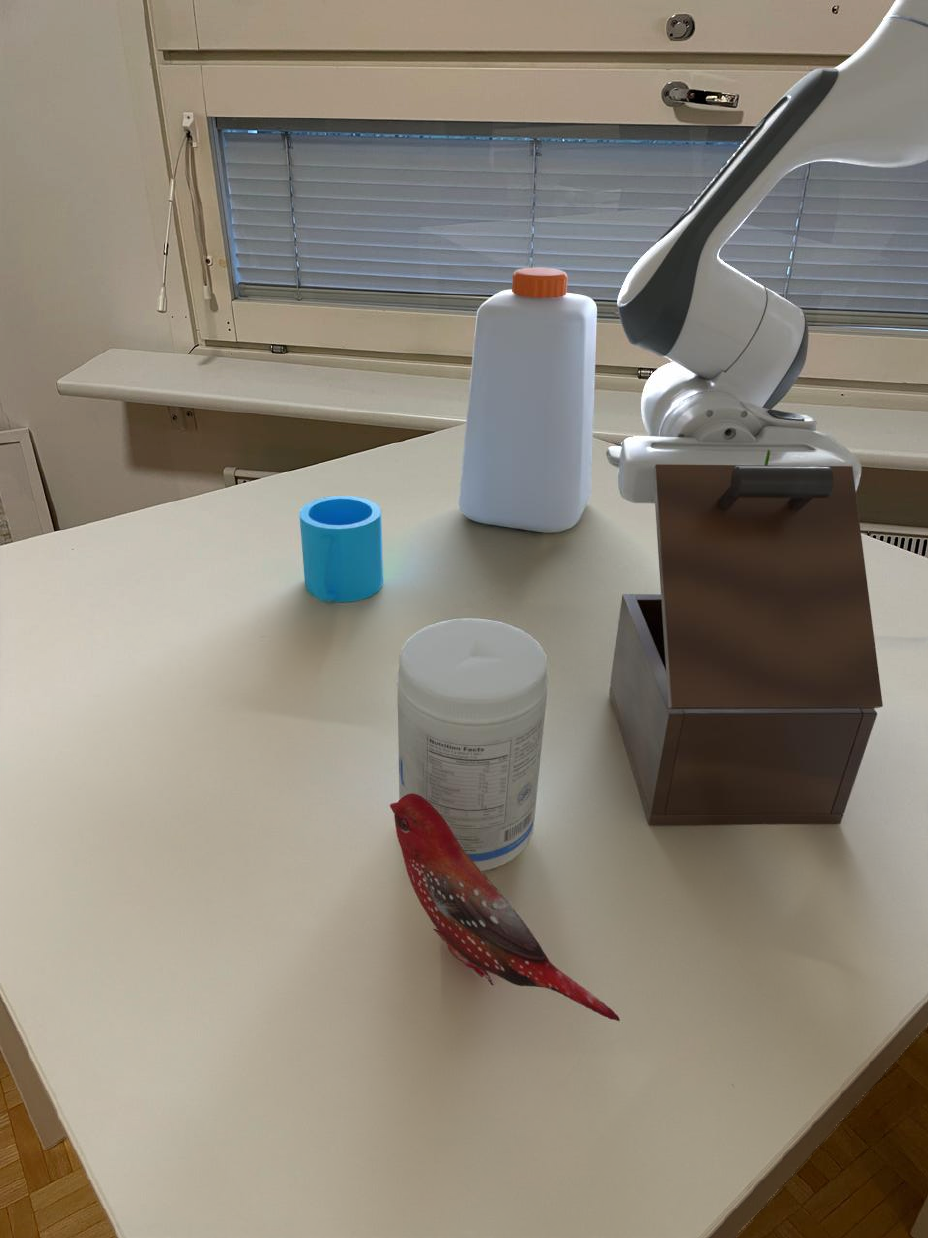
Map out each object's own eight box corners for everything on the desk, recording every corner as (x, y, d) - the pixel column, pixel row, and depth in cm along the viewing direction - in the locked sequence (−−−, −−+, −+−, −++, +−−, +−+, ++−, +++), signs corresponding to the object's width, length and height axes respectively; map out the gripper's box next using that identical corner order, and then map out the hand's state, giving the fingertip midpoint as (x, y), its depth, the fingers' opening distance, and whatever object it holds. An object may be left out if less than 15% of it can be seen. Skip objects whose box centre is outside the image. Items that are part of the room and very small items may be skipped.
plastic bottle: (572, 541, 102) (597, 288, 87) (449, 522, 105) (453, 277, 91) (594, 493, 114) (619, 265, 100) (484, 478, 118) (492, 256, 103)
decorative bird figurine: (409, 883, 57) (407, 765, 52) (623, 1075, 46) (648, 951, 41) (374, 906, 55) (369, 787, 50) (588, 1112, 45) (610, 987, 39)
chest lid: (652, 468, 61) (675, 431, 56) (847, 470, 62) (889, 433, 56) (668, 709, 57) (695, 695, 51) (877, 708, 58) (925, 694, 52)
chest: (608, 693, 76) (622, 593, 71) (766, 693, 76) (791, 594, 71) (648, 826, 62) (669, 714, 57) (840, 824, 63) (878, 713, 58)
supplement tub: (404, 779, 66) (401, 612, 58) (530, 782, 66) (544, 615, 58) (394, 879, 57) (390, 698, 50) (538, 882, 57) (555, 703, 50)
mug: (320, 561, 96) (315, 492, 92) (391, 569, 95) (390, 499, 90) (279, 615, 86) (271, 540, 82) (359, 626, 84) (355, 550, 80)
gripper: (606, 412, 78) (637, 470, 67) (829, 415, 79) (898, 473, 68) (599, 478, 82) (627, 544, 70) (812, 480, 83) (876, 546, 71)
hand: (762, 509), depth 69 cm, fingers closed on lemon, 5 cm apart
